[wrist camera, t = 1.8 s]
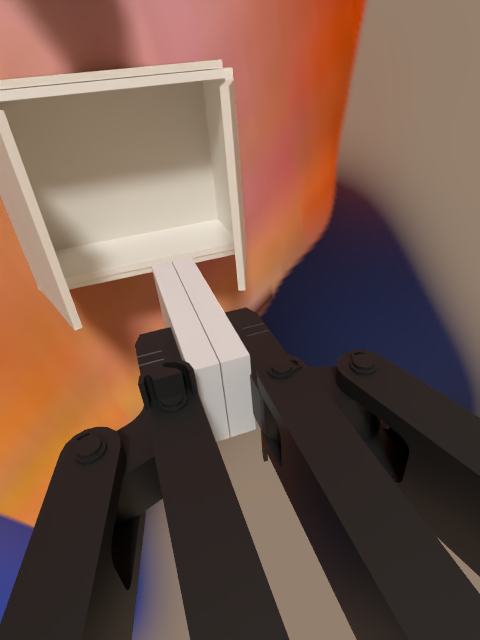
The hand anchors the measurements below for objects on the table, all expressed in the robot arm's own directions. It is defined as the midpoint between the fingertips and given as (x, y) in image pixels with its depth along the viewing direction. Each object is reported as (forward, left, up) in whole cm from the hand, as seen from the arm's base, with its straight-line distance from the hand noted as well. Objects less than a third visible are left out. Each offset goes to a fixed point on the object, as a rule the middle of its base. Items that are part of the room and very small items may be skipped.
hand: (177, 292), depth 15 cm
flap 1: (-7, 0, -14) cm, 16 cm away
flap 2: (+7, 0, -14) cm, 16 cm away
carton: (0, 0, -26) cm, 26 cm away
